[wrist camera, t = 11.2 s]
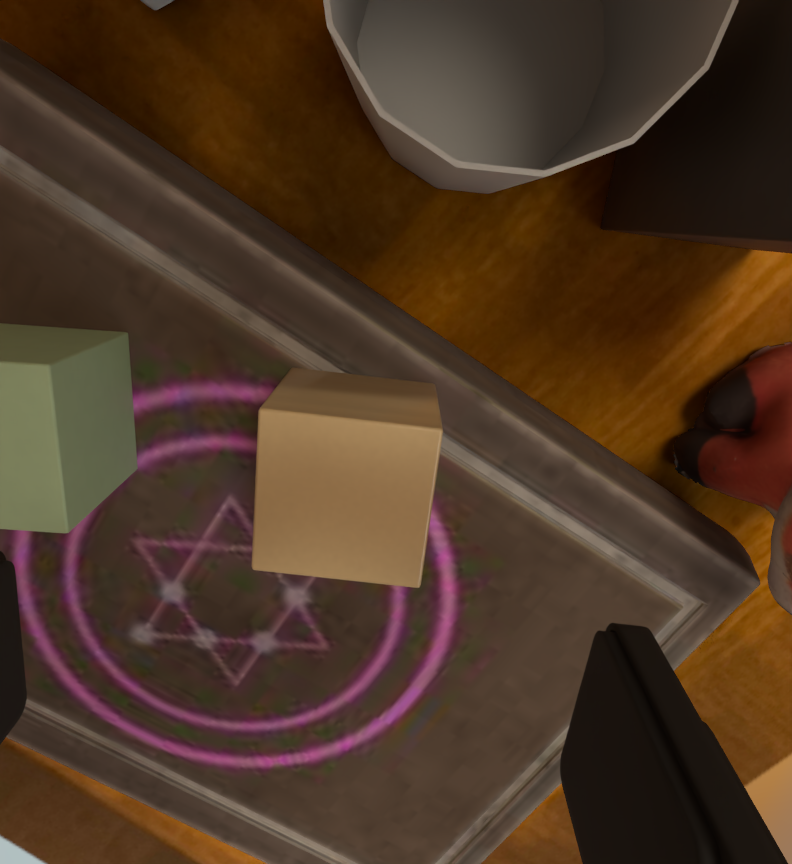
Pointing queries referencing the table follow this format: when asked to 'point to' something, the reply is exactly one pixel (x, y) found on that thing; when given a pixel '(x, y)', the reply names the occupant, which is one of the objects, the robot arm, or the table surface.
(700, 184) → the stand
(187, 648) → the book
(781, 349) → the stuffed fox
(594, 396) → the table surface
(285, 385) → the birch block
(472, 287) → the table surface
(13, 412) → the sage block
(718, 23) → the cup
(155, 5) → the small box
